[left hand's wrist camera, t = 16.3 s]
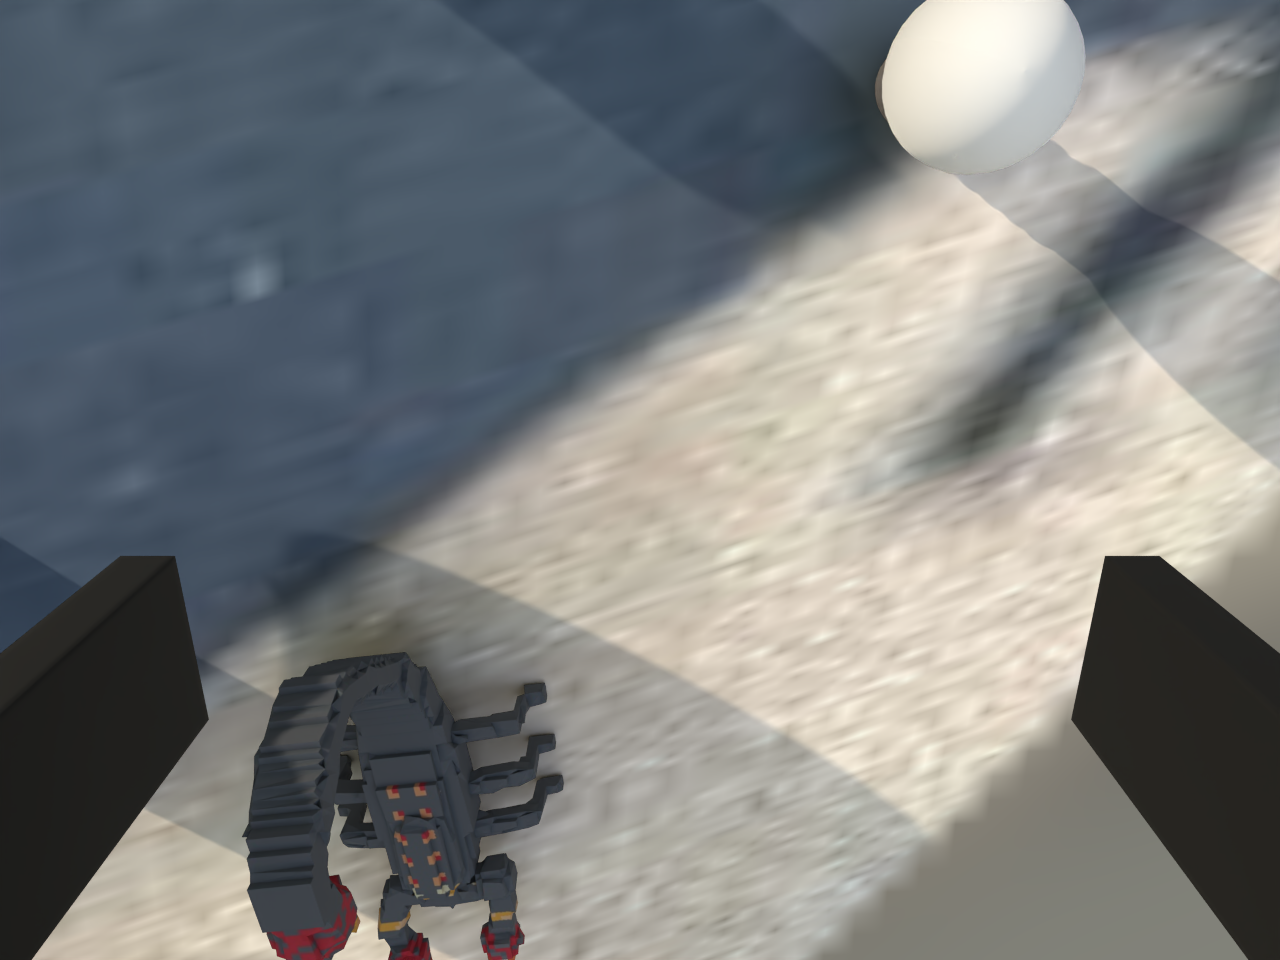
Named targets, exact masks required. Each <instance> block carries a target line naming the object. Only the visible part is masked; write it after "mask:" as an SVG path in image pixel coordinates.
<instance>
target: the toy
mask: <svg viewBox="0 0 1280 960" xmlns="http://www.w3.org/2000/svg"><path fill="white" fill-rule="evenodd" d="M524 690H525V694H523V695H520V696H518V697H517V700H516V704H515V708H514V711H508V712H502V713H497V714H492V715H491V716H487V717H478V718H469V719H460V720H458V721H456V722H455V721H454V719H453V717H452V715H451V713H450V711H449V709H448V708H447V706H446V704H445V703H444V701H443V700H442V698H441V697H440V696H439V694H438V692H437V689H436V687H435V684H434V682H433V680H432V678H431V676H430V674H429V672H428V670H427V668H426V667H417V666H416V664H414V663H412V661H411V659H410V658H409V657H408V655H407V654H406V652H403V653H393V654H383V655H373V656H364V657H354V658H346V659H338V660H333V661H328V662H327V663H321V664H319V665H315V666H309V668H308V669H307V671H306V672H305V674H304V675H303V677H294V678H291V679H288V680H284V681H283V682H282V684H281V686H280V687H279V693H278V695H277V698H276V700H275V702H274V704H273V707H272V711H271V715H270V719H269V723H268V726H267V730H266V734H265V737H264V740H263V741H262V743H261V745H260V746H259V749H258V751H257V753H256V754H255V756H254V783H253V789H252V796H251V803H250V810H249V824H248V826H247V828H246V830H245V832H244V834H243V836H242V837H247V839H246V843H247V845H248V848H249V851H250V854H249V856H248V858H247V862H248V866H249V870H250V885H249V887H248V889H247V892H248V894H249V897H250V900H251V902H252V905H253V908H254V911H255V913H256V916H257V919H258V922H259V924H260V927H261V930H262V933H264V932H267V936H268V939H269V942H270V944H271V947H272V949H276V952H277V956H278V957H281V958H284V959H286V960H332V958H333V955H334V954H335V953H337V952H339V951H341V950H342V949H344V947H345V945H346V942H347V940H348V938H349V936H350V934H351V933H352V932H355V933H356V932H357V929H358V926H359V924H360V920H359V917H358V915H357V906H356V904H355V902H354V899H353V897H352V894H351V892H350V891H349V889H348V888H347V887H346V886H343V885H342V883H341V879H340V876H339V875H333V876H329V873H328V868H327V866H328V851H327V845H328V843H329V840H330V831H331V827H332V823H333V819H334V815H335V810H334V803H335V804H336V805H339V806H338V811H339V815H340V816H347V817H348V818H347V820H346V822H345V825H344V827H343V829H342V832H341V834H340V837H341V840H342V842H343V844H344V845H346V846H347V847H353V848H386V851H387V855H388V858H389V862H390V865H391V869H392V872H393V874H397V873H398V874H399V875H390V879H387V880H386V883H385V886H384V890H383V899H381V908H379V920H378V938H379V939H385V940H386V942H387V943H388V944H389V946H390V948H391V950H390V954H389V958H388V960H432V957H431V953H430V947H429V940H428V938H423V933H416V932H415V931H414V930H412V929H411V928H410V927H409V926H408V921H409V918H410V916H411V915H410V908H411V906H412V905H417V904H420V905H421V907H429V906H435V907H446V906H451V907H452V908H454V906H455V905H456V904H461V903H467V902H473V901H478V900H481V899H484V901H487V900H489V906H490V912H491V913H490V916H489V922H487V923H486V924H484V925H483V926H482V931H481V937H480V939H481V943H482V947H483V951H484V953H487V955H488V960H504V959H508V960H515V956H516V955H517V954H518V947H519V945H521V944H524V937H525V935H524V934H523V932H522V931H521V929H520V924H519V923H518V922H517V919H516V914H515V912H516V909H517V904H518V901H517V896H516V891H515V889H516V881H517V870H516V866H515V862H514V861H512V860H510V859H509V858H508V857H507V855H506V853H505V854H504V853H503V854H497V855H491V856H487V857H486V858H485V860H484V861H482V862H479V863H478V859H479V854H480V848H479V843H480V839H481V837H485V836H490V835H496V834H502V833H507V832H511V831H516V830H520V829H525V828H529V827H532V826H534V825H537V824H539V822H540V819H541V815H542V812H543V809H544V805H545V802H546V799H547V795H548V794H553V793H558V792H560V791H561V790H563V785H564V782H563V777H562V775H559V776H553V777H546V778H542V779H540V780H538V781H537V784H536V788H535V791H534V795H533V798H532V799H531V800H530V801H529V802H527V803H526V804H522V805H517V806H512V807H506V808H501V809H492V810H488V811H482V810H479V807H480V803H481V801H480V797H479V794H487V793H494V792H496V791H498V790H500V789H502V788H505V787H513V786H520V785H522V784H524V783H526V782H528V781H530V780H532V779H534V778H536V772H537V766H538V760H539V754H540V753H544V752H548V751H551V750H554V749H555V746H556V740H555V735H554V734H551V735H542V736H532V737H529V742H528V748H527V753H526V756H524V757H521V758H520V761H519V762H508V763H503V764H497V765H492V766H487V767H481V768H479V769H477V770H475V771H473V767H472V763H471V759H470V756H469V752H468V749H467V745H466V742H471V741H478V740H484V739H491V738H498V737H503V736H509V735H514V734H519V733H520V730H521V726H522V723H525V714H526V712H527V711H528V709H529V708H530V707H531V706H535V705H539V704H542V703H545V702H546V700H547V692H546V687H545V683H540V684H530V685H524ZM349 716H350V718H351V719H352V721H353V722H354V723H355V725H347V723H348V719H349ZM356 749H358V753H359V760H360V765H361V770H362V776H363V780H350V779H351V776H352V771H351V761H350V759H349V758H348V756H340V752H342V751H349V750H356ZM366 804H368V808H369V811H370V815H371V818H372V822H373V823H363V819H364V816H365V812H366V808H367V806H366Z"/></svg>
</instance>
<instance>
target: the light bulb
mask: <svg viewBox="0 0 1280 960" xmlns="http://www.w3.org/2000/svg"><path fill="white" fill-rule="evenodd" d="M1084 70H1085V48H1084V39H1083V36H1082V33H1081V30H1080V27H1079V24H1078V22H1077V20H1076V18H1075V16H1074V15H1073V13H1072V11H1071V9H1070V8H1069V6H1068V5H1067V3H1066V2H1065V1H1064V0H926V1H925V2H924V3H923V4H922V5H921V6H919V7H918V8H917V9H916V10H915V11H914V12H913V13H912V14H911V16H910V17H909V18H908V19H907V20H906V22H905V23H904V24H903V25H902V27H901V29H900V30H899V32H898V34H897V36H896V37H895V39H894V41H893V43H892V45H891V48H890V51H889V54H888V56H887V59H886V60H885V61H884V63H883V64H882V66H881V68H880V70H879V72H878V75H877V78H876V83H875V96H876V101H877V105H878V107H879V109H880V111H881V113H882V115H883V117H884V118H885V119H886V120H887V121H888V123H889V125H890V127H891V130H892V132H893V134H894V135H895V137H896V138H897V140H898V141H899V143H900V144H901V146H902V147H903V148H904V149H905V150H906V151H908V152H909V153H910V154H911V155H912V156H913V157H914V158H916V159H917V160H919V161H921V162H922V163H924V164H926V165H927V166H930V167H932V168H935V169H938V170H941V171H944V172H947V173H952V174H962V175H971V174H980V173H989V172H994V171H997V170H1000V169H1004V168H1007V167H1010V166H1012V165H1013V164H1015V163H1017V162H1019V161H1021V160H1023V159H1025V158H1027V157H1028V156H1030V155H1031V154H1033V153H1034V152H1036V151H1037V150H1038V149H1039V148H1041V147H1042V146H1043V145H1045V144H1046V143H1047V142H1048V141H1049V140H1050V139H1051V138H1052V137H1053V136H1054V134H1055V133H1056V132H1057V131H1058V130H1059V129H1060V128H1061V126H1062V125H1063V123H1064V122H1065V120H1066V119H1067V117H1068V116H1069V114H1070V112H1071V110H1072V108H1073V106H1074V104H1075V101H1076V99H1077V97H1078V95H1079V92H1080V89H1081V85H1082V81H1083V77H1084Z"/></svg>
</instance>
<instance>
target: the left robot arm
mask: <svg viewBox="0 0 1280 960" xmlns="http://www.w3.org/2000/svg"><path fill="white" fill-rule="evenodd" d="M208 720H209V719H208V714H207V709H206V704H205V699H204V694H203V690H202V685H201V680H200V675H199V670H198V665H197V661H196V656H195V651H194V646H193V641H192V636H191V632H190V627H189V622H188V617H187V612H186V607H185V603H184V598H183V593H182V588H181V583H180V578H179V574H178V569H177V564H176V559H175V556H120V557H119V558H118V559H116V560H115V561H114V562H113V563H111V564H110V565H109V566H108V567H106V568H105V569H104V570H103V571H102V572H100V573H99V574H98V575H97V576H95V577H94V578H93V579H92V580H90V581H89V582H88V583H87V584H85V585H84V586H83V587H82V588H81V589H79V590H78V591H77V592H76V593H74V594H73V595H72V596H71V597H69V598H68V599H67V600H66V601H65V602H63V603H62V604H61V605H60V606H58V607H57V608H56V609H55V610H53V611H52V612H51V613H50V614H48V615H47V616H46V617H45V618H44V619H42V620H41V621H40V622H39V623H37V624H36V625H35V626H34V627H32V628H31V629H30V630H29V631H28V632H26V633H25V634H24V635H23V636H21V637H20V638H19V639H18V640H16V641H15V642H14V643H13V644H11V645H10V646H9V647H8V648H7V649H5V650H4V651H3V652H2V653H0V960H32V958H33V957H34V956H35V954H36V953H37V952H38V950H39V949H40V948H41V946H42V945H43V944H44V942H45V941H46V939H47V938H48V937H49V935H50V934H51V933H52V931H53V930H54V929H55V927H56V926H57V925H58V923H59V922H60V921H61V919H62V918H63V916H64V915H65V914H66V912H67V911H68V910H69V908H70V907H71V906H72V904H73V903H74V902H75V900H76V899H77V897H78V896H79V895H80V893H81V892H82V891H83V889H84V888H85V887H86V885H87V884H88V883H89V881H90V880H91V878H92V877H93V876H94V874H95V873H96V872H97V870H98V869H99V868H100V866H101V865H102V864H103V862H104V861H105V860H106V858H107V857H108V855H109V854H110V853H111V851H112V850H113V849H114V847H115V846H116V845H117V843H118V842H119V841H120V839H121V838H122V836H123V835H124V834H125V832H126V831H127V830H128V828H129V827H130V826H131V824H132V823H133V822H134V820H135V819H136V817H137V816H138V815H139V813H140V812H141V811H142V809H143V808H144V807H145V805H146V804H147V803H148V801H149V800H150V798H151V797H152V796H153V794H154V793H155V792H156V790H157V789H158V788H159V786H160V785H161V784H162V782H163V781H164V780H165V778H166V777H167V775H168V774H169V773H170V771H171V770H172V769H173V767H174V766H175V765H176V763H177V762H178V761H179V759H180V758H181V756H182V755H183V754H184V752H185V751H186V750H187V748H188V747H189V746H190V744H191V743H192V742H193V740H194V739H195V737H196V736H197V735H198V733H199V732H200V731H201V729H202V728H203V727H204V725H205V724H206V723H207V721H208ZM1071 720H1072V721H1073V723H1074V724H1075V725H1076V727H1077V728H1078V729H1079V731H1080V732H1081V733H1082V735H1083V736H1084V737H1085V739H1086V740H1087V742H1088V743H1089V744H1090V746H1091V747H1092V748H1093V750H1094V751H1095V752H1096V754H1097V755H1098V756H1099V758H1100V759H1101V761H1102V762H1103V763H1104V765H1105V766H1106V767H1107V769H1108V770H1109V771H1110V773H1111V774H1112V775H1113V777H1114V778H1115V780H1116V781H1117V782H1118V784H1119V785H1120V786H1121V788H1122V789H1123V790H1124V792H1125V793H1126V794H1127V796H1128V797H1129V799H1130V800H1131V801H1132V803H1133V804H1134V805H1135V807H1136V808H1137V809H1138V811H1139V812H1140V813H1141V815H1142V816H1143V817H1144V819H1145V820H1146V822H1147V823H1148V824H1149V826H1150V827H1151V828H1152V830H1153V831H1154V832H1155V834H1156V835H1157V836H1158V838H1159V839H1160V840H1161V842H1162V843H1163V845H1164V846H1165V847H1166V849H1167V850H1168V851H1169V853H1170V854H1171V855H1172V857H1173V858H1174V860H1175V861H1176V862H1177V864H1178V865H1179V866H1180V868H1181V869H1182V870H1183V872H1184V873H1185V874H1186V876H1187V877H1188V878H1189V880H1190V881H1191V883H1192V884H1193V885H1194V887H1195V888H1196V889H1197V891H1198V892H1199V893H1200V895H1201V896H1202V897H1203V899H1204V900H1205V902H1206V903H1207V904H1208V906H1209V907H1210V908H1211V910H1212V911H1213V912H1214V914H1215V915H1216V916H1217V918H1218V919H1219V921H1220V922H1221V923H1222V925H1223V926H1224V927H1225V929H1226V930H1227V931H1228V933H1229V934H1230V935H1231V937H1232V938H1233V939H1234V941H1235V942H1236V944H1237V945H1238V946H1239V948H1240V949H1241V950H1242V952H1243V953H1244V954H1245V956H1246V957H1247V958H1248V960H1280V653H1278V652H1277V651H1276V650H1275V649H1273V648H1272V647H1271V646H1270V645H1269V644H1267V643H1266V642H1265V641H1264V640H1262V639H1261V638H1260V637H1259V636H1257V635H1256V634H1255V633H1254V632H1252V631H1251V630H1250V629H1249V628H1248V627H1246V626H1245V625H1244V624H1243V623H1241V622H1240V621H1239V620H1238V619H1236V618H1235V617H1234V616H1233V615H1232V614H1230V613H1229V612H1228V611H1227V610H1225V609H1224V608H1223V607H1222V606H1220V605H1219V604H1218V603H1217V602H1215V601H1214V600H1213V599H1212V598H1211V597H1209V596H1208V595H1207V594H1206V593H1204V592H1203V591H1202V590H1201V589H1199V588H1198V587H1197V586H1196V585H1195V584H1193V583H1192V582H1191V581H1190V580H1188V579H1187V578H1186V577H1185V576H1183V575H1182V574H1181V573H1180V572H1178V571H1177V570H1176V569H1175V568H1174V567H1172V566H1171V565H1170V564H1169V563H1167V562H1166V561H1165V560H1164V559H1162V558H1161V557H1160V556H1105V559H1104V564H1103V569H1102V574H1101V578H1100V583H1099V588H1098V593H1097V598H1096V603H1095V607H1094V612H1093V617H1092V622H1091V627H1090V632H1089V636H1088V641H1087V646H1086V651H1085V656H1084V661H1083V665H1082V670H1081V675H1080V680H1079V685H1078V690H1077V694H1076V699H1075V704H1074V709H1073V714H1072V719H1071Z"/></svg>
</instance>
